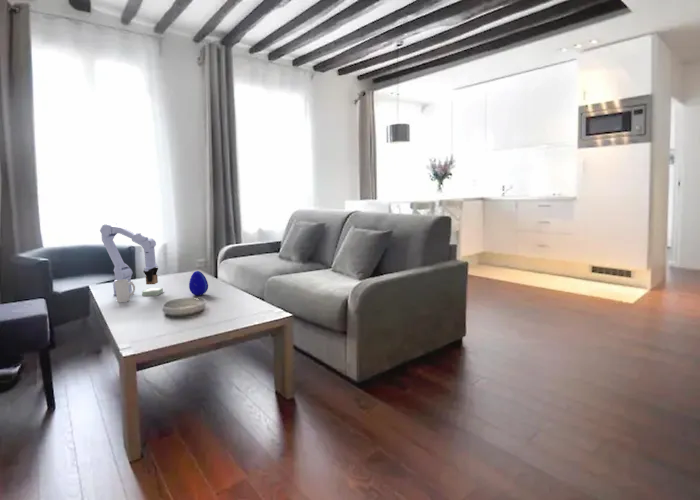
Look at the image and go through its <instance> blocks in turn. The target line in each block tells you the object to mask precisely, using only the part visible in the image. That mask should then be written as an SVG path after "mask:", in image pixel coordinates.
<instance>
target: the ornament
mask: <svg viewBox="0 0 700 500" xmlns="http://www.w3.org/2000/svg"><path fill="white" fill-rule="evenodd" d="M188 283H189V284H188V287H189V291H190V292H191V294H192V295H193V296H202V295H204V294H206V292H208V289H209V282H208V280H207V277H206V276H205V275H204V273H203V272H201V271H199V270H196V271H194V272H192V274H191V276H190V279H189V282H188Z"/></svg>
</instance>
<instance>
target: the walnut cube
mask: <svg viewBox="0 0 700 500" xmlns="http://www.w3.org/2000/svg"><path fill="white" fill-rule="evenodd" d="M158 278H159V277H158V274H156V275H153V276H152V282H148V280H147V277H146V276H145V284H146V285H156V284H158V282H159V280H158Z"/></svg>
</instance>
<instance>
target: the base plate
mask: <svg viewBox="0 0 700 500" xmlns="http://www.w3.org/2000/svg"><path fill="white" fill-rule="evenodd" d="M162 293H164V289H163V287H149V288H146V289H145V290H142V291H141V294H142V297H143V296H144V297H147V296H149V297H150V296H153V297H154V296H159V295H160V294H162Z"/></svg>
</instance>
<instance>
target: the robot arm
mask: <svg viewBox="0 0 700 500" xmlns="http://www.w3.org/2000/svg"><path fill="white" fill-rule="evenodd" d="M99 231H100V233H101V242H102V243H103V246H104V247H105V249H106V252H107V253H108V255H109V258H110V259H111V261H112V262H111V263H112V264H113V266H114V267H113V272H114V278H115V279H114V281H113V283H112V285H113V296H117V295H116V287H115V281H117V280H128V282H132V276H133V274H134V273H133V270H132V268H131V267H130V266H129V265H128V264H127V263H125V262H124V260H123V258H122V255H121V253H120V251H119V249H118V247H117V245H116V244H115V242H114V239H115V237H116V236H117V234H120V235H123V236H125V237H126V238H129V239H131V241H132V242H134V243H135V244H137V245H139V246H141V247H142V249H143V252H144V253H143V254H144V264H145V266H144V270H143V274H144V275H145V278H146V277H147V280H148V282H152V276H153V275H157V273H158V270H159V266H158V264H157V263H156V253H155V247H156V245H157V242H156V241H155V239H153V238H149V237H148V236H144V235H142V233H140V232H136V233H134V232H132V231H130V230H129V229H127V228H125V227H123V226H122V225H121V224H118V223H116V222H112V223H108V224H102V226H101V227H100V230H99ZM128 288H129V293H131V292H132V291H133V286H132V285H131V284H130V285H128ZM135 292H136V290H135V291H134V293H135Z"/></svg>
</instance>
